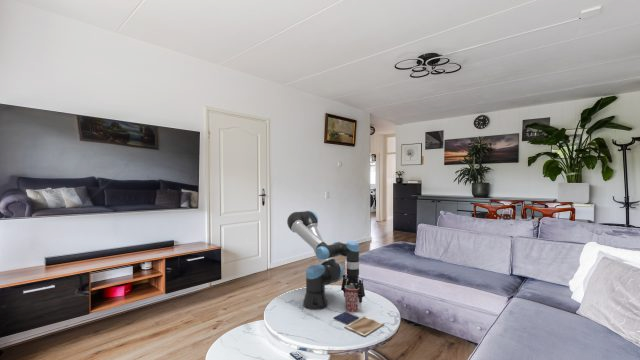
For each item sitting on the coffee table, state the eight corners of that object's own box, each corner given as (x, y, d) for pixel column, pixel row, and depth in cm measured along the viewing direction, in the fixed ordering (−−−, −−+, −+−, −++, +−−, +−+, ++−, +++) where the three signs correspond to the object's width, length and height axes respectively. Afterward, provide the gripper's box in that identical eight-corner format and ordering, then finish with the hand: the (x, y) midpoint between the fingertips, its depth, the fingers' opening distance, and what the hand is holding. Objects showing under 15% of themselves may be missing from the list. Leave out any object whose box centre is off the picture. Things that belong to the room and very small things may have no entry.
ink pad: (333, 318, 160) (333, 317, 160) (344, 313, 167) (344, 311, 167) (347, 325, 153) (347, 323, 153) (358, 318, 160) (358, 317, 160)
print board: (344, 328, 150) (344, 326, 150) (363, 317, 162) (363, 315, 162) (364, 337, 141) (364, 335, 141) (383, 325, 153) (383, 323, 153)
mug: (360, 313, 167) (360, 289, 167) (344, 312, 168) (344, 289, 168) (359, 303, 180) (359, 282, 180) (344, 303, 180) (344, 281, 180)
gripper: (335, 265, 179) (335, 301, 178) (363, 273, 163) (363, 313, 163) (343, 263, 184) (342, 298, 184) (371, 270, 168) (371, 309, 168)
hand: (352, 305), depth 173 cm, fingers closed on mug, 9 cm apart
